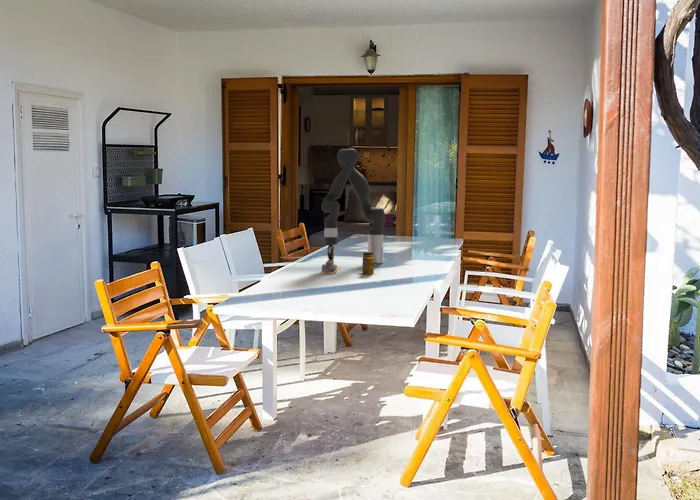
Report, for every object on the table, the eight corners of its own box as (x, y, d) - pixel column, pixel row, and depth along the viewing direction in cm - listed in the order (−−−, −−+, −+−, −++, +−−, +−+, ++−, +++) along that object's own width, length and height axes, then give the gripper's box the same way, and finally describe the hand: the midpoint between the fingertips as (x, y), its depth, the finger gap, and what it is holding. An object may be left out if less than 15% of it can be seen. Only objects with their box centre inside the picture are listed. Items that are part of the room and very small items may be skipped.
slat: (331, 271, 382) (331, 262, 381) (325, 271, 382) (325, 262, 381) (333, 268, 391) (333, 260, 391) (328, 268, 392) (328, 259, 391)
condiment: (376, 274, 379) (376, 252, 377) (364, 275, 374) (364, 253, 373) (369, 272, 385) (369, 251, 383) (356, 273, 380) (356, 252, 379)
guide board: (340, 267, 402) (340, 260, 401) (335, 273, 380) (335, 265, 379) (326, 267, 402) (326, 259, 402) (320, 273, 381) (320, 265, 380)
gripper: (336, 237, 385) (336, 268, 387) (339, 234, 398) (339, 264, 400) (322, 237, 386) (323, 268, 388) (326, 234, 399) (326, 264, 401)
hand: (331, 266), depth 394 cm, fingers closed
